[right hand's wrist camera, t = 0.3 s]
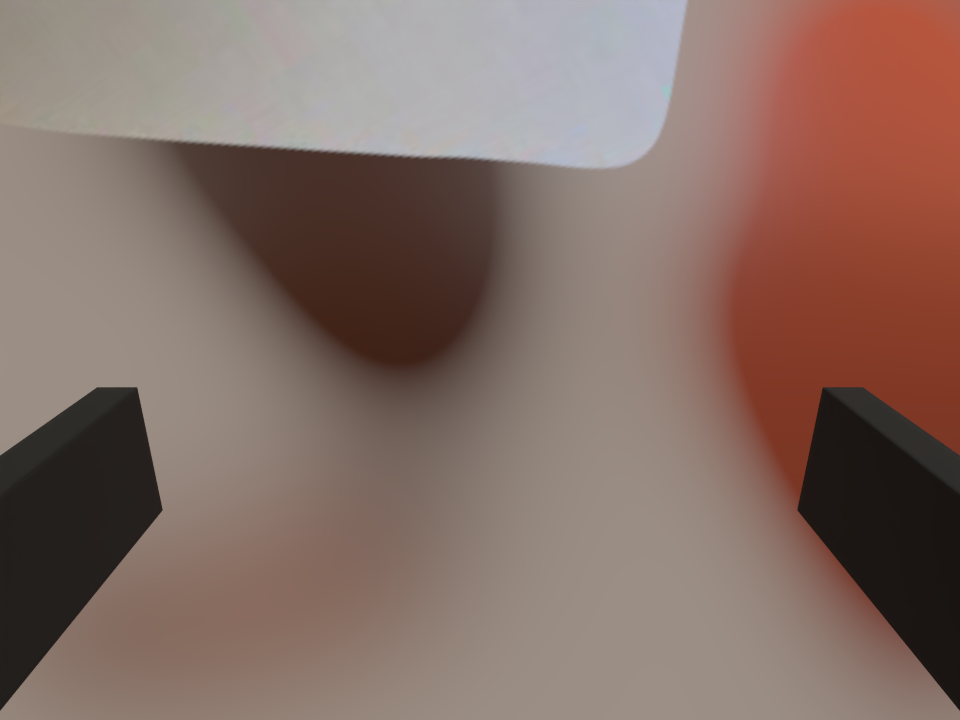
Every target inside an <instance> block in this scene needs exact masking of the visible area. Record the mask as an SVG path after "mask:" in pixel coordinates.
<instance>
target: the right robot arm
mask: <svg viewBox="0 0 960 720" xmlns="http://www.w3.org/2000/svg"><path fill="white" fill-rule="evenodd" d="M161 511H162V505H161V500H160V495H159V491H158V486H157V481H156V476H155V471H154V466H153V462H152V457H151V452H150V447H149V442H148V437H147V433H146V428H145V423H144V418H143V413H142V408H141V404H140V399H139V394H138V389H137V388H136V387H131V388H130V387H127V388H126V387H121V388H120V387H109V388H108V387H104V388H103V387H100V388H99V387H97V388H96V389H94V390H93V391H91V392H90V393H89V394H87V395H86V396H84V397H83V398H81V399H80V400H79V401H77V402H76V403H74V404H73V405H72V406H70V407H69V408H67V409H66V410H64V411H63V412H62V413H60V414H59V415H57V416H56V417H54V418H53V419H52V420H50V421H49V422H47V423H46V424H45V425H43V426H42V427H40V428H39V429H37V430H36V431H35V432H33V433H32V434H30V435H29V436H27V437H26V438H25V439H23V440H22V441H20V442H19V443H17V444H16V445H15V446H13V447H12V448H10V449H9V450H8V451H6V452H5V453H3V454H2V455H0V710H1V709H2V708H3V707H4V705H5V704H6V703H7V702H8V700H9V699H10V698H11V697H12V695H13V694H14V693H15V692H16V690H17V689H18V688H19V687H20V686H21V684H22V683H23V682H24V681H25V679H26V678H27V677H28V676H29V674H30V673H31V672H32V671H33V670H34V668H35V667H36V666H37V665H38V663H39V662H40V661H41V660H42V658H43V657H44V656H45V655H46V653H47V652H48V651H49V650H50V648H51V647H52V646H53V645H54V644H55V642H56V641H57V640H58V639H59V637H60V636H61V635H62V634H63V632H64V631H65V630H66V629H67V627H68V626H69V625H70V624H71V622H72V621H73V620H74V619H75V618H76V616H77V615H78V614H79V613H80V611H81V610H82V609H83V608H84V606H85V605H86V604H87V603H88V602H89V600H90V599H91V598H92V597H93V595H94V594H95V593H96V592H97V590H98V589H99V588H100V587H101V586H102V584H103V583H104V582H105V581H106V579H107V578H108V577H109V576H110V574H111V573H112V572H113V571H114V569H115V568H116V567H117V566H118V564H119V563H120V562H121V561H122V560H123V558H124V557H125V556H126V555H127V553H128V552H129V551H130V550H131V548H132V547H133V546H134V545H135V544H136V542H137V541H138V540H139V539H140V537H141V536H142V535H143V534H144V532H145V531H146V530H147V529H148V528H149V526H150V525H151V524H152V523H153V521H154V520H155V519H156V518H157V516H158V515H159V514H160V513H161ZM798 511H799V513H800V514H801V515H802V516H803V518H804V519H805V520H806V521H807V523H808V524H809V525H810V526H811V527H812V529H813V530H814V531H815V532H816V534H817V535H818V536H819V537H820V539H821V540H822V541H823V542H824V544H825V545H826V546H827V547H828V548H829V550H830V551H831V552H832V553H833V555H834V556H835V557H836V558H837V560H838V561H839V562H840V563H841V565H842V566H843V567H844V568H845V569H846V571H847V572H848V573H849V574H850V576H851V577H852V578H853V579H854V581H855V582H856V583H857V584H858V586H859V587H860V588H861V589H862V590H863V592H864V593H865V594H866V595H867V597H868V598H869V599H870V600H871V602H872V603H873V604H874V605H875V607H876V608H877V609H878V610H879V611H880V613H881V614H882V615H883V616H884V617H885V619H886V620H887V621H888V623H889V624H890V625H891V626H892V628H893V629H894V630H895V631H896V632H897V634H898V635H899V636H900V637H901V639H902V640H903V641H904V642H905V644H906V645H907V646H908V647H909V648H910V650H911V651H912V652H913V653H914V655H915V656H916V657H917V658H918V660H919V661H920V662H921V663H922V665H923V666H924V667H925V668H926V669H927V671H928V672H929V673H930V674H931V676H932V677H933V678H934V679H935V681H936V682H937V683H938V684H939V686H940V687H941V688H942V689H943V690H944V692H945V693H946V694H947V695H948V697H949V698H950V699H951V700H952V702H953V703H954V704H955V705H956V706H957V708H958V709H959V710H960V455H958V454H957V453H955V452H954V451H952V450H951V449H950V448H948V447H947V446H945V445H944V444H943V443H941V442H940V441H938V440H937V439H935V438H934V437H932V436H931V435H930V434H928V433H927V432H925V431H924V430H923V429H921V428H920V427H918V426H917V425H915V424H914V423H913V422H911V421H910V420H908V419H907V418H906V417H904V416H903V415H901V414H900V413H898V412H897V411H896V410H894V409H893V408H891V407H890V406H888V405H887V404H886V403H884V402H883V401H881V400H880V399H879V398H877V397H876V396H874V395H873V394H871V393H870V392H869V391H867V390H866V389H864V388H862V387H861V388H860V387H857V388H856V387H853V388H852V387H849V388H848V387H843V388H842V387H841V388H840V387H836V388H835V387H824V388H823V389H822V394H821V399H820V404H819V408H818V413H817V418H816V423H815V428H814V433H813V438H812V442H811V447H810V452H809V457H808V462H807V466H806V471H805V476H804V481H803V486H802V491H801V495H800V500H799V505H798Z"/></svg>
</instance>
